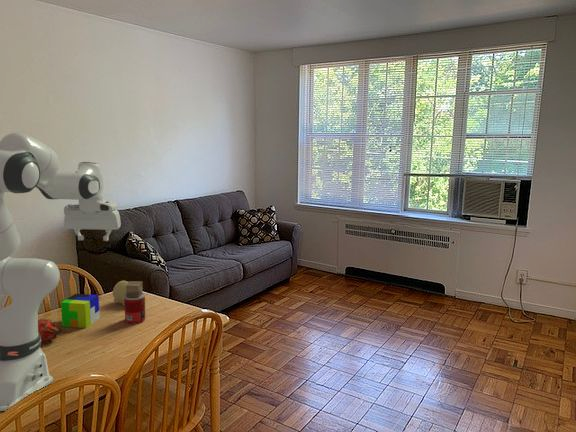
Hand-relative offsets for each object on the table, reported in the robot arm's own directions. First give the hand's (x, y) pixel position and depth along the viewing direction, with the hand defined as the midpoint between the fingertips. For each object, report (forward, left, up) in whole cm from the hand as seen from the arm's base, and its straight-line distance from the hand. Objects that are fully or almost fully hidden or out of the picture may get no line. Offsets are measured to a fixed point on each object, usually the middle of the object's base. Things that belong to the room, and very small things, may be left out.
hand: (93, 240), depth 168 cm
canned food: (+6, -13, -35) cm, 38 cm away
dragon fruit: (-12, +14, -35) cm, 40 cm away
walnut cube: (+6, -13, -24) cm, 28 cm away
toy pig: (+24, -4, -35) cm, 43 cm away
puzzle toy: (+4, +8, -35) cm, 37 cm away
